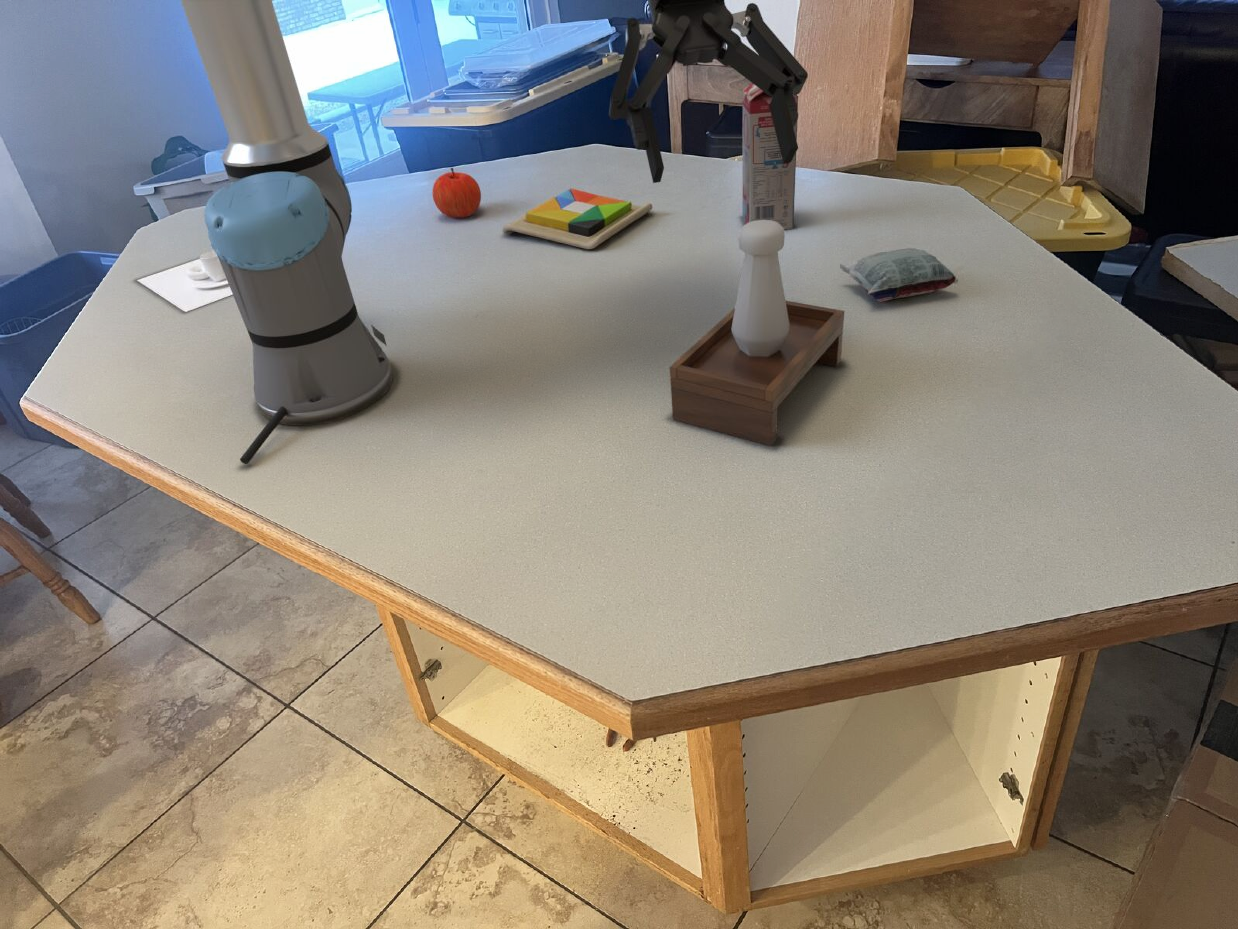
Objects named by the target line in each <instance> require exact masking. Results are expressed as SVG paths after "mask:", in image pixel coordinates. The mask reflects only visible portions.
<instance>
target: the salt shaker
mask: <svg viewBox="0 0 1238 929" xmlns="http://www.w3.org/2000/svg"><path fill="white" fill-rule="evenodd" d="M785 233H786V232H785V229H784V228H783V227H782V226H781V225H780V224H779V223H778V222H775V221H771V220H756V221H752V222H748V223H747V224H745V223H744V225H742V227H740V230H739V235H738V246H739V250H741V252H743V253H744V257H743V262H742V266H741V274H740V278H739V279H740V280H739V285H738V290H737V296H736V300H735V306H734V308H735V312H734V317H733V323H732V328H731V329H732V334H733V336H734V338H735V340H736V342H737V344H738V347H739V349H740V350H741V351H743V352H744V353H746V354H747V355H749V356H760V357H768V356H770V355H772V354H774V353H776V352H777V351H779V350H780V349H781V347H782V345H783V343H784V341H785V339H786V337H787V335H788V332H789V319H788V313H787V307H786V301H787V300H786V296H785V291H784V285H783V279H782V272H781V265H780V259H779V251H781V250H783V249H784V246H785V236H786V234H785ZM785 300H786V301H785Z"/></svg>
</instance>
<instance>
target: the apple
mask: <svg viewBox="0 0 1238 929" xmlns="http://www.w3.org/2000/svg"><path fill="white" fill-rule="evenodd" d="M450 170H451V172H450V171H449V172H446V173H444V174H442V175H440V176H439V177H437V178H436V180H435V181H434V183H433V186H432V200H433V202H434V205H435V206H436V208H437V209H438V210H439V212H441V213H442V214H443V215H445V216H446V217H448V218H449V217H450V218H452V219H456V218H467V217H469V216H472V215H474V213H476V212H477V210H478V209H479V207H480V205H481V200H482V190H481V188H480V185H479V184H478V181H476V179H475V178H473V177H472V176H471V175H469V174H467V173H464V172H459V171H454V168H453V167H451V168H450Z"/></svg>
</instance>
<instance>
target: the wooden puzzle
mask: <svg viewBox="0 0 1238 929" xmlns="http://www.w3.org/2000/svg"><path fill="white" fill-rule="evenodd" d="M652 209H653V203H651V202H648V203H646V204H644V205H643V206H641V205H637V204H632V201H626V200H623V199H618V198H613V197H608V196H603V195H598V194H596V193H592V192H588V191H583V190H580V189H575V188H569V189H567V190H565V191H563V192H561V193H559V194H558V195H556V196H554V197H552V198H550V199H548V200H547V201H545V202H543V203H541V204H539V205H538V206H536V207H533V208H532V209H530V210H529V211H527V212H526V213H525V214H523V215H522V216H520V217H518V218H517V219H515V220H513V221H511V222H509V223H507V224H506V225H505V226H504V225H503V227H502V228H501V229H502V233H503V234H505V235H508V234H510V233H512V232H516V233H519V234H524V235H528V236H531V237H536V238H540V239H543V240H547V241H548V240H549V241H552V242H556V243H561V244H564V245H568V246H573V247H577V248H581V249H584V250H592V249H593V250H594V249H595V248H596V247H598V246H600V245H601V244H602V243H603V242H605V241H606V240H608V239H610V238H612V236H614V235H616V234H618V233H619V232H620V231H622V230H623V229H625V228H626V227H627V226H629V225H631V224H633V223H634V222H635V221H637V220H638V219H640V218H641V217H644V216H645V215H646V214H647V213H649V212H651V210H652Z"/></svg>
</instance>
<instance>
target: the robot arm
mask: <svg viewBox="0 0 1238 929" xmlns="http://www.w3.org/2000/svg"><path fill="white" fill-rule="evenodd" d="M180 3H181V6H182V8H183V11H184V14H185V17H186V20H187V23H188V25H189V28H190V31H191V34H192V37H193V39H194V40H193V41H194V43H195V45H196V48H197V50H198V53H199V56H200V59H201V62H202V64H203V68H204V71H205V73H206V77H207V79H208V82H209V85H210V87H211V90H212V93H213V97H214V98H215V101H216V104H217V107H218V110H219V113H220V115H221V119H222V121H223V124H224V127H225V129H226V130H225V131H226V132H227V135H228V138H229V140H228V144H227V146H226V148H225V150H224V152H223V154H222V155H221V162H222V164H223V166H224V169H225V172H226V174H227V178H228V180H229V183H230V184H229V186H223V187H221V188H220V189H219V190H217V191H216V192H215V193H213V194H212V196H210V198H209V199H208V201H207V203H206V205H205V208H204V212H203V213H204V222H205V225H206V229H207V231H208V232H207V234H208V239H209V242H210V246H211V248H212V249H213V251H215V253H216V254H217V256H218V258H219V261H220V263H221V266H222V268H223V271H224V273H225V276H226V278H227V281H228V283H229V286H230V288H231V291H232V294H233V295H232V297H233V298H234V301H235V303H236V306H237V308H238V311H239V314H240V316H241V319H242V322H243V324H244V326H245V329H246V331H247V333H248V336H249V339H250V341H251V344H252V364H253V365H252V366H253V368H252V369H253V392H254V398H255V401H256V403H257V406H258V408H259V411H260V413H261V414H262V415H263V417H265V418H266V419H268V420H269V421H268V422H267V423H266V425H265V426H264V427H263V429H262V430H261V431H260V433H259V434H257V436H256V437H255V439H254V440H253V441H252V442H251V443H250V445H249V446H248V448H246V450H245V452H244V453H243V454H242V455H241V457H240V458H239V461H240V463H242V464H243V465H248V464H249V463H250V462H251V461H252V459H253V458H254V457H255V455H256V454H257V452H258V451H259V450H260V448H262V446H263V444H264V443H265V442H266V441H267V440H268V438H269V436H270V435H271V434H272V433H273V432H274V430H275V429H276V428H277V426H278V425H279V424H282V425H288V426H308V425H309V426H310V425H318V424H324V423H328V422H332V421H336V420H340V419H342V418H346V417H348V416H351V415H353V414H355V413H356V414H357V413H358V412H360V411H362V410H363V409H365V408H367V407H369V406H371V405H373V404H374V403H376V401H378V400H380V398H381V397H383V396H384V395H385V394H386V392H387V391H388V390H389V389H390V387H391V386H392V382H393V379H394V376H393V375H394V374H393V370H392V367H391V363H390V360H389V358H388V356H387V355H386V353H385V351H384V350H383V349H382V347H381V345H379V343H378V341H377V340H379V341H380V342H381V343H382V344H383V345H385V346H386V347H388V345H387V342H386V338H385V335H384V334H383V333H382V332H381V331H379V329H377V328H376V327H375V326H374V325H372V324H370V326H371V329H372V332H373V335H372V333H371V332H370V330H369V329H368V328H367V326H366V325H365V323H364V322H363V321H362V319H361V318H360V316H359V313H358V309H357V306H356V302H355V300H354V296H353V292H352V289H351V285H350V283H349V282H350V281H349V279H348V276H347V273H346V269H345V265H344V261H343V251H344V247H345V243H346V237H347V234H348V232H349V229H350V226H351V223H352V213H353V212H352V211H353V206H352V200H351V195H350V191H349V188H348V186H347V184H346V182H345V180H344V178H343V177H342V175H341V173H340V172H339V170H338V169H337V167H336V164H335V160H334V157H333V154H332V151H331V147H330V143H329V141H328V137H327V136H325V135H324V134H322V133H320V132H319V131H318V130H317V129H315V128H313V127H312V126H311V125H310V124H309V120H308V117H307V114H306V111H305V107H304V104H303V101H302V97H301V94H300V90H299V87H298V83H297V79H296V77H295V73H294V70H293V67H292V64H291V60H290V56H289V53H288V51H287V50H288V49H287V47H286V44H285V41H284V36H283V33H282V30H281V27H280V23H279V20H278V17H277V13H276V9H275V7H274V2H273V0H180ZM647 3H648V7H649V12H650V17H651V22H652V23H640V22H639V20H638V19H637V18H636V17H630V18H628V19H627V20H626V28H625V35H624V36H625V37H624V43H625V44H624V45H625V49H624V53H623V55H622V59H621V63H620V66H619V69H618V72H617V75H616V79H615V82H614V86H613V89H612V93H611V96H610V100H609V107H608V117H609V118H610V119H611V120H615V121H617V120H619V119H624V120H626V125H627V126H628V127H630V132H631V136H632V140H633V145H634V147H635V148H636V150H637V151H639V150H645V153H646V158H647V162H648V167H649V171H650V175H651V179H652V184H655V183H661V181H662V178H663V174H664V170H665V166H664V161H663V157H662V152H661V148H660V144H659V140H658V135H657V130H656V126H655V122H654V117H653V113H652V107H651V106H649V105H650V102H651V101H652V99H653V98H654V96H655V95H656V93H657V91H658V90H659V88H660V86H661V85H662V83H663V81H664V80H665V78H666V77H667V75H669V73H670V72H671V71H672V69H673V67H674V66H675V64H676V63H678V64H681V65H682V66H683V67H687V66H689V67H690V66H692V65H694V64H697V63H699V64H711V63H713V62H714V60H716V61H717V62H719V63H720V64H721V65H723V66H724V67H730V68H732V69H733V70H735V71H736V72H737V73H738V74H740V75H741V76H742V77H744V78H745V79H747V80H748V81H749V83H751V84H752V83H753V84H754V85H756V86H757V87H758V88H760V89H761V90H762V91H764V92H765V93H766V94H768V95H769V96H770V97H772V100H771V102H770V105H769V108H770V112H771V116H772V120H773V124H774V128H775V132H776V136H777V140H778V144H779V148H780V152H781V156H782V160H783V164H784V163H791V161H792V159H793V157H794V155H795V153H796V154H797V152H798V150H799V145H798V141H796V137H795V133H794V129H793V128H794V126H795V124H796V122H797V123H798V120H799V110H798V111H797V107H796V103H795V99H794V96H793V94H794V95H797V96H798V95H799V94H801V92H802V89H803V87H804V86H805V83H806V81H807V79H808V76H809V74H808V72H807V70H806V69H805V68H804V67H803V66H802V64H801V63H800V62H799V60H797V58H796V57H795V55H794V54H792V53H791V52H790V50H789V49H788V48H787V47H786V46H785V44H783V42H782V41H781V40H780V38H779V37H778V36H777V35H776V34H775V33H774V31H773V30H772V29H771V28H770V27H769V26H768V24H767V23H766V22H765V21H764V18H763V16H762V13H761V11H760V8H759V6H758V4H756V3H754V2H750V3H748V4H747V6H746V9H745V10H742V11H738V12H734V13H732V12H731V11H730V10H729V9H728V7H727V6H726V2H725V0H647ZM732 29H734V30H735V29H736V30H737V31H738V32H739V33H740V36H739V34H738V33H736V32H734V31H733V30H732ZM741 37H742V38H745V37H746V40H747V42H748V43H749V45H750V46H751V47H749V46H748V45H746V44H745V43H744V42H743V41H742V39H741ZM648 40H651V41H652V42H653V43H654V44H655V45H656V46H657V47H659V48H660V52H659V53H658V54H657V56H656V58H655V60H654V61H653V63H652V65H651V66H650V68H649V69H648V71H647V73H646V74H645V76H644V78H643V79H642V81H641V82H640V84H639V86H638V87H637V89H636V91H635V92H634V94H633V95H632V96H631V98H630V99H627V96H628V92H629V89H630V86H631V81H632V79H633V75H634V72H635V69H636V65H637V62H638V57H639V52H640V51H642V50H643V49H644V48H645V47H646V46H647V42H648ZM725 44H726V49H725V48H724V46H725ZM751 48H752V49H751ZM375 338H376V339H377V340H376V339H375Z"/></svg>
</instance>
